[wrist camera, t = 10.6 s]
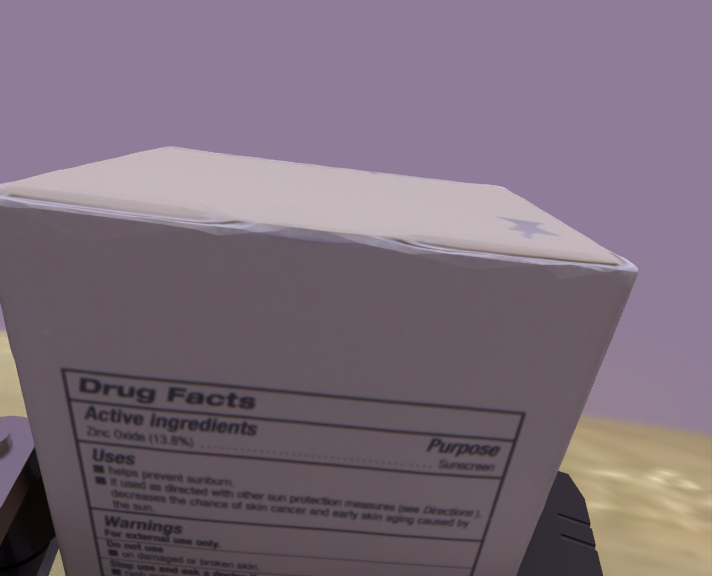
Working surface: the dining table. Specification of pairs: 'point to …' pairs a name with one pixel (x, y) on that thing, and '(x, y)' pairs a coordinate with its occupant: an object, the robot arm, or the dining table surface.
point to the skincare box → (296, 364)
